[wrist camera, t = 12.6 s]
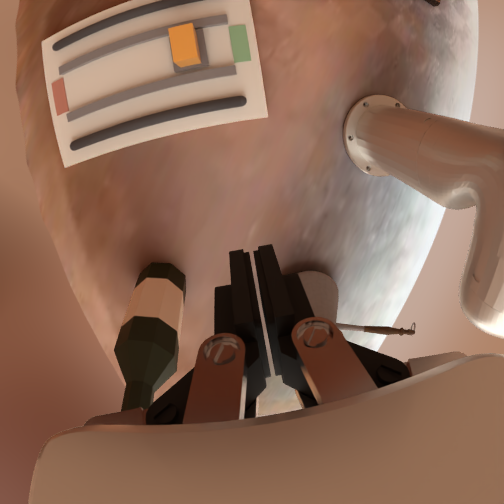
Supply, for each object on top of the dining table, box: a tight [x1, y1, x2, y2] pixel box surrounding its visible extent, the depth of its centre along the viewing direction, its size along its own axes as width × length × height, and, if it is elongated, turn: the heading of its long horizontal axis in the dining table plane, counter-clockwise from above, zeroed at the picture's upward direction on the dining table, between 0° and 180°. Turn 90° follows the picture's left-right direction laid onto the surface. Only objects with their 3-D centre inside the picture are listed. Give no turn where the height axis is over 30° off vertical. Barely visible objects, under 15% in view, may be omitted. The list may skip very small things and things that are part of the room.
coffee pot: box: [298, 271, 415, 335], centre depth 43 cm, size 21×12×15 cm, turn 94°
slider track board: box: [42, 0, 268, 168], centre depth 27 cm, size 28×20×4 cm
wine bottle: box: [114, 263, 186, 411], centre depth 33 cm, size 8×8×30 cm
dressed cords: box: [52, 0, 247, 151], centre depth 26 cm, size 23×16×1 cm
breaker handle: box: [168, 23, 209, 73], centre depth 24 cm, size 4×5×6 cm
